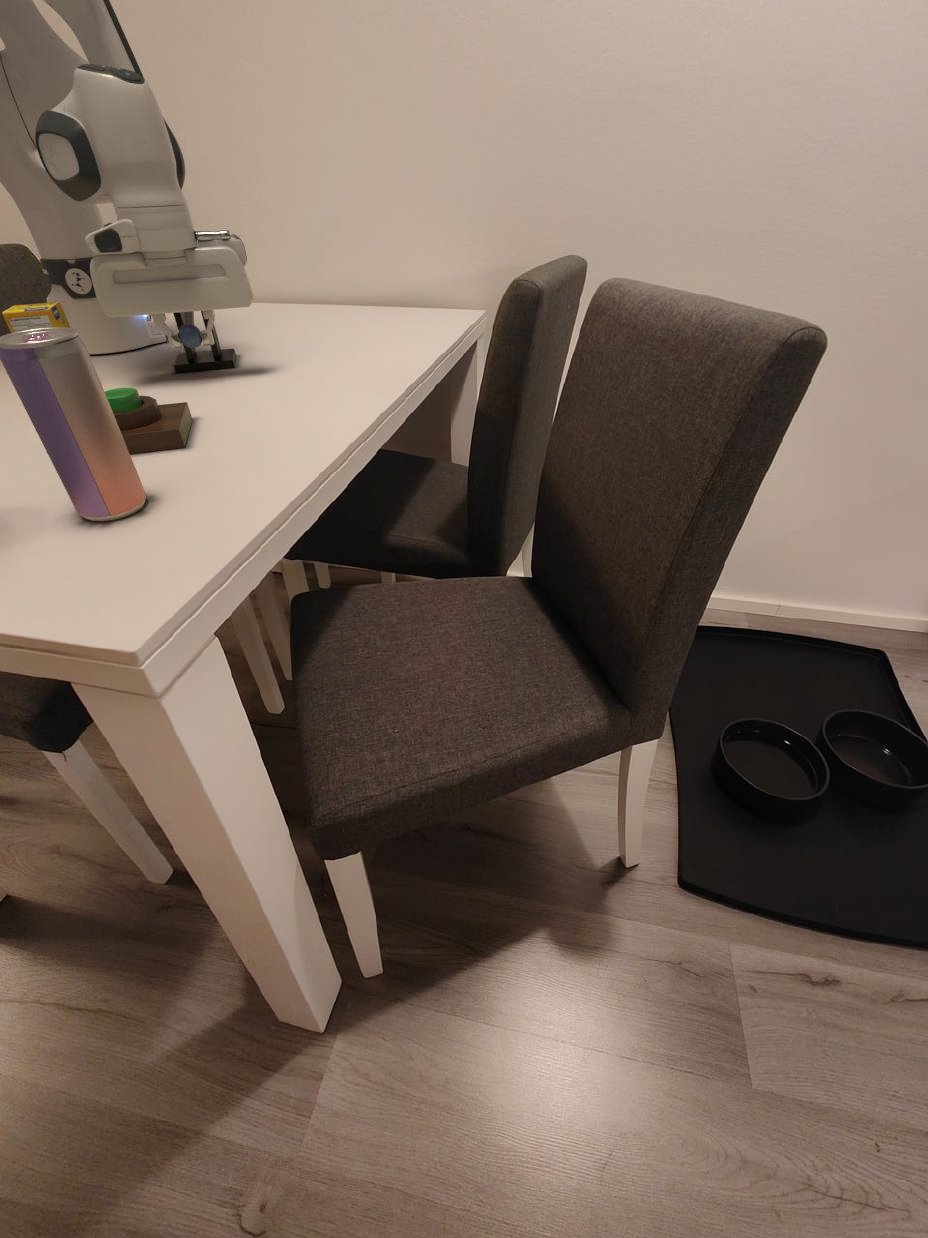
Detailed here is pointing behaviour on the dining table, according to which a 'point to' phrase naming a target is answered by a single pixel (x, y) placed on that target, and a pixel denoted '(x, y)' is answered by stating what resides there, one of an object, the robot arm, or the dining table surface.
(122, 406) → the light button
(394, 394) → the dining table surface
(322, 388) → the dining table surface
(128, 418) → the button block
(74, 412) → the beverage can
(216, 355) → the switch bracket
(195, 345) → the switch lever
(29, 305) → the supplement box
